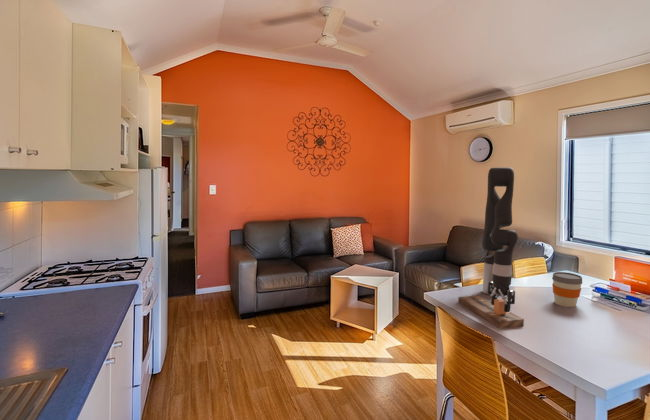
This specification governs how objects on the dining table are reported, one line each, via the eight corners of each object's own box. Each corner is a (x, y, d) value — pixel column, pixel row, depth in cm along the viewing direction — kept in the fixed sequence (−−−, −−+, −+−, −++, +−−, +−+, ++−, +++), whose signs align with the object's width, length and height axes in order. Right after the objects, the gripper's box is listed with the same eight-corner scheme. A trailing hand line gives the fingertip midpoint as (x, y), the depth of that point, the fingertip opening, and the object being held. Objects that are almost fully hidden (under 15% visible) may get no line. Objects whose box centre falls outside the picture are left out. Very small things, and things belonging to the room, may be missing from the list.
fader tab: (501, 311, 155) (502, 298, 155) (506, 313, 152) (506, 300, 152) (493, 312, 154) (494, 299, 154) (498, 314, 152) (499, 301, 151)
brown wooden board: (478, 300, 177) (478, 295, 177) (523, 325, 148) (523, 318, 147) (458, 302, 174) (458, 296, 174) (499, 328, 145) (500, 321, 145)
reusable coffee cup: (548, 304, 173) (550, 275, 171) (552, 297, 182) (554, 270, 180) (578, 310, 164) (581, 280, 163) (581, 303, 173) (584, 275, 172)
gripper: (521, 277, 145) (519, 313, 147) (497, 268, 159) (496, 301, 161) (506, 278, 144) (504, 315, 145) (484, 269, 158) (482, 303, 159)
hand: (500, 308), depth 153 cm, fingers open, 8 cm apart
